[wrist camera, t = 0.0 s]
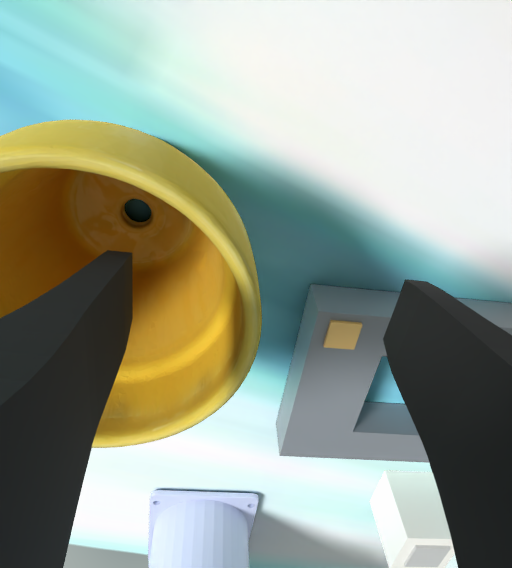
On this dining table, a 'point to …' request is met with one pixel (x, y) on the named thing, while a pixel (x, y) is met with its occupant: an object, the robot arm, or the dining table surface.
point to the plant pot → (135, 264)
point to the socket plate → (350, 379)
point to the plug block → (411, 520)
